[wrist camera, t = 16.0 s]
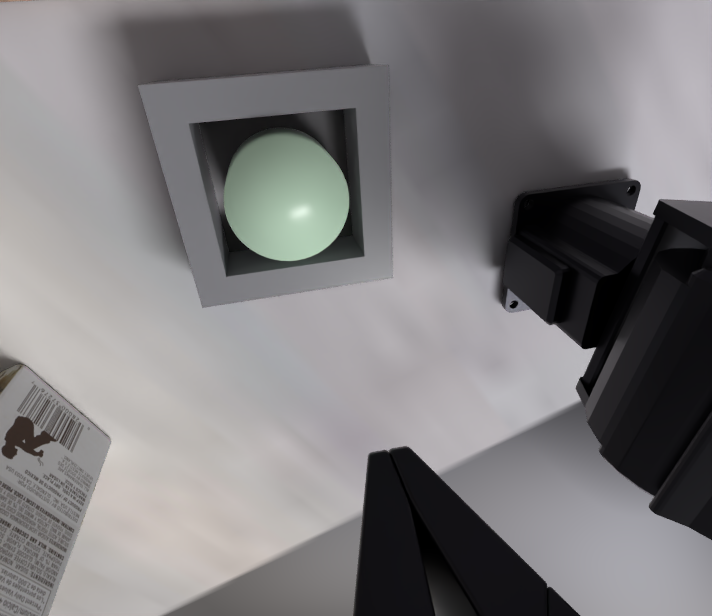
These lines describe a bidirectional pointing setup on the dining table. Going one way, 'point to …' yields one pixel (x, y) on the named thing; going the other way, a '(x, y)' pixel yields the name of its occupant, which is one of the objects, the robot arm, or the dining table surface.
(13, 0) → the board
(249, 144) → the button
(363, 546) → the robot arm
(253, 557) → the dining table surface
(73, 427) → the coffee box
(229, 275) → the button collar
